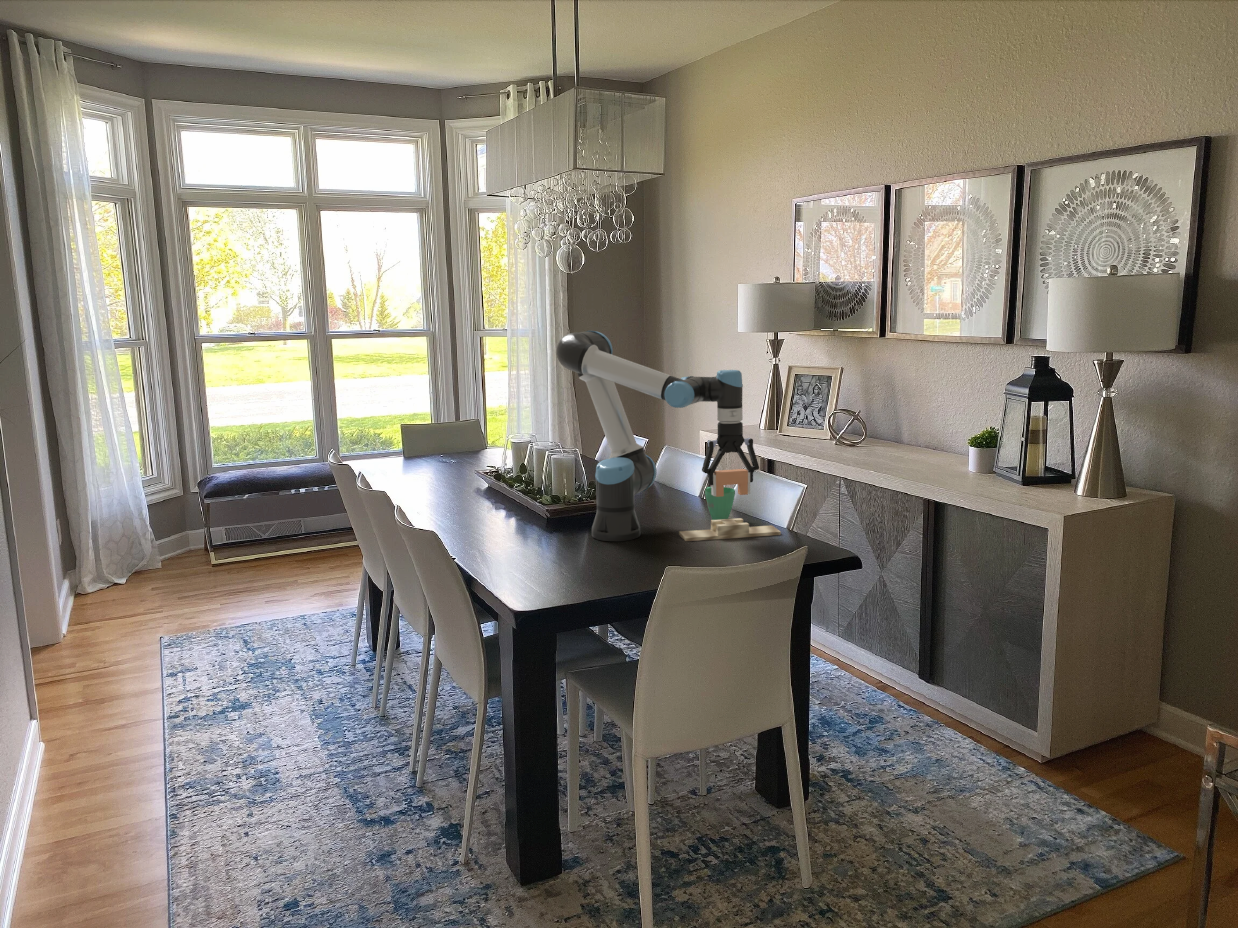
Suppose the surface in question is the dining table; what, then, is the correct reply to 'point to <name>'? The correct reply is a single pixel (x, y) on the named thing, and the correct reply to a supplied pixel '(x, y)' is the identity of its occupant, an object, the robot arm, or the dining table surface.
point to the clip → (732, 480)
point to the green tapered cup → (720, 503)
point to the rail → (729, 530)
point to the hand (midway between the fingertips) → (730, 494)
